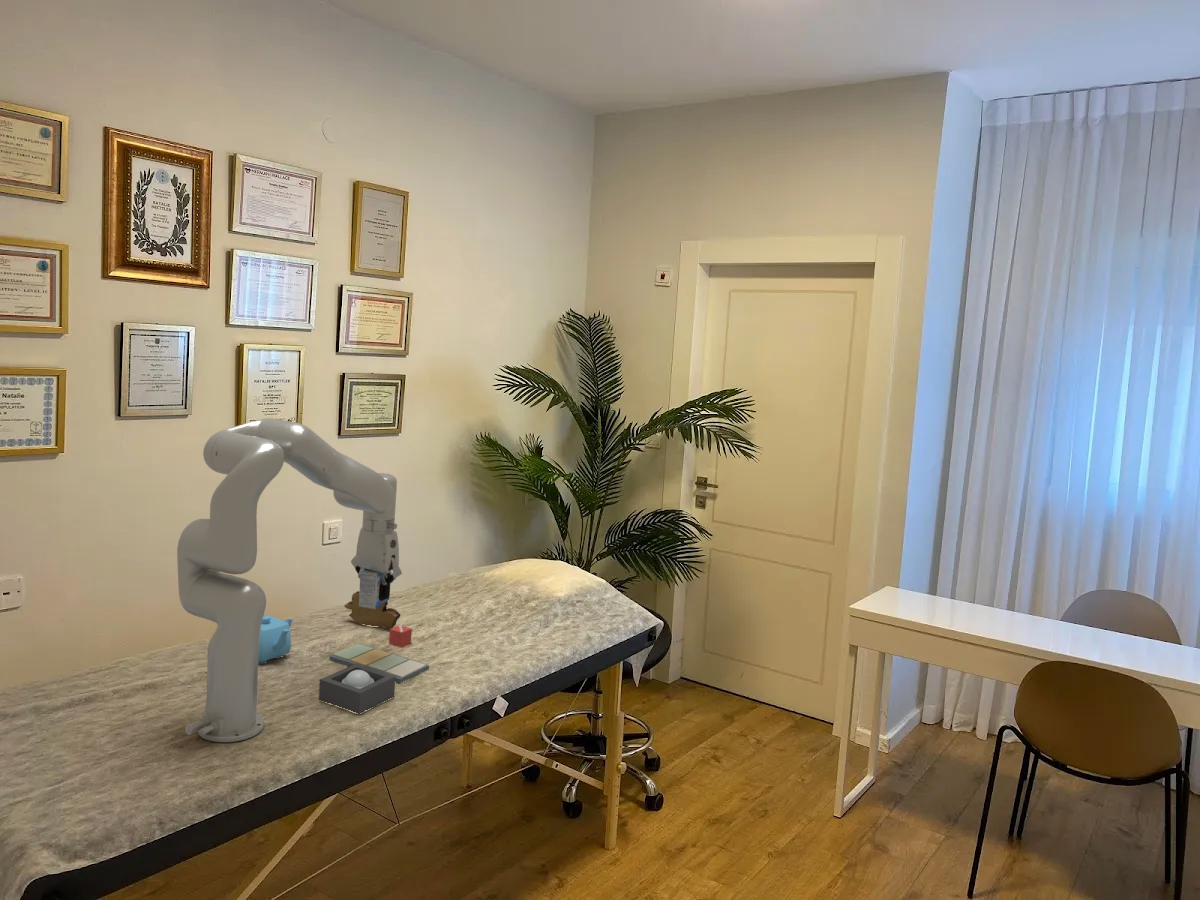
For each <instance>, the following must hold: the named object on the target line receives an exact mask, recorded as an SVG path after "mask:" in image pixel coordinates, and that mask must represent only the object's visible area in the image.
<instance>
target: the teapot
mask: <svg viewBox="0 0 1200 900" xmlns="http://www.w3.org/2000/svg"><path fill="white" fill-rule="evenodd" d="M293 620H294V619H292V618H285V620H281V618H280V619H279V618H277V617H274V616H271V615H264V616H263V619H262V624H261V629H260V637H259V658H258V664H259V663H260V664H259V665H264V664H266V663H267V662H266V661H267V660H268V661H269V660H273V659H277V658H276V657H281V656H285V655H287V654H289V653H290V652H291V646H292V645H291V642H292V640H291V638H292V637H291V625H292V624H293ZM265 662H266V663H265ZM262 663H263V664H262Z"/></svg>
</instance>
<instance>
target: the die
mask: <svg viewBox="0 0 1200 900" xmlns="http://www.w3.org/2000/svg"><path fill="white" fill-rule="evenodd" d="M412 632H413V628H411V627H408V626H404V625H396V626H394V627H393V628H392V629H389V638H388V639H389V641H388V644H389V645H392V646H395V647H398V648H403V647H406V646H407V645H410V644H412Z"/></svg>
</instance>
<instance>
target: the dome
mask: <svg viewBox="0 0 1200 900" xmlns="http://www.w3.org/2000/svg"><path fill="white" fill-rule="evenodd" d="M373 682H374V680H373V679H372V678H371V677H370V676H369V674H368V673H367V672H365V671H363V670H354V671H352V672H350V673H349V674H348V675H347V676H346V678H344V679H343V680H342V683H344V684H347V685H350V686H353V687H356V688H358V689H361V688H363V687H365V686H367V685H369V684H371V683H373Z"/></svg>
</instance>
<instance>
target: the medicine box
mask: <svg viewBox="0 0 1200 900" xmlns="http://www.w3.org/2000/svg"><path fill="white" fill-rule="evenodd" d="M385 575H386V578H387V574H385ZM381 584H382V582H381V576H380V573H379V572H375V571H371V570H366V571H364V572H362V573H361V574H360V579H359V590H358V591H359V606H360V607H364V608H371V609H376V608H378V607H379V606H381V605H382V604H383V603H385V602H387V601H390V597H389V598H388V599H385V600H382V601H381V600H379V588H380V585H381Z"/></svg>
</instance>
